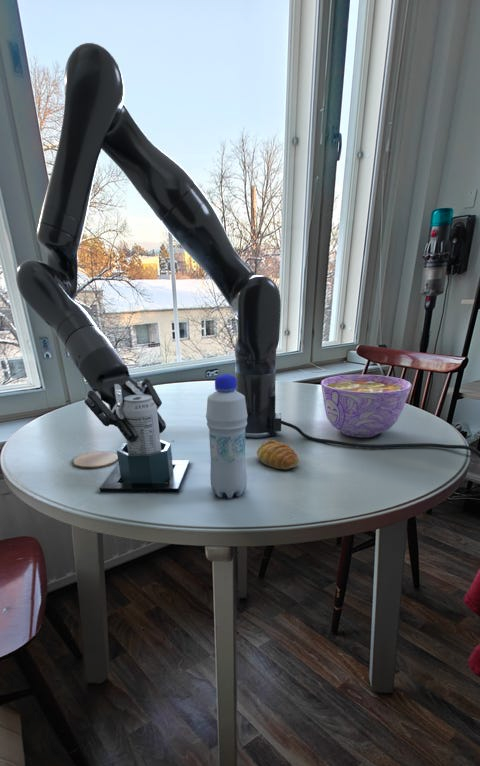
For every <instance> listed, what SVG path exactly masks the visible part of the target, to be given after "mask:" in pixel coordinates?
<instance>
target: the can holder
mask: <svg viewBox="0 0 480 766" xmlns="http://www.w3.org/2000/svg"><path fill="white" fill-rule="evenodd" d="M160 442H161V451H158V452H154V453H151V454H129V453H128V447H127V442H125V443H122V444H121V445H120V446H119V447H118V448H117V450H116V454H117V456H118V460H117V462H118V464H117V466H115V468H114V469H113V470H112V472H110V474H109V476H107V478H106V479H105V480H104V482H103V483H102V484H101V485H100V487H99V492H100V493H149V494H150V493H154V494H155V493H163V494H164V493H165V494H167V493H169V494H171V493H174V494H175V493H176V494H179V491H180V489H181V486H182V484H183V482H184V479H185V476H186V474H187V471H188V470H189V466H190V459H189V460H188V459H186V460H184V459H183V460H181V459H179V460H178V459H177V460H173V455H172V454H173V453H172V452H173V451H172V444H171V443H169V442H167V441H165V440H163V439H160Z"/></svg>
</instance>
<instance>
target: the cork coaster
mask: <svg viewBox="0 0 480 766" xmlns="http://www.w3.org/2000/svg"><path fill="white" fill-rule="evenodd" d="M116 462H118V456H117V453H115V452H111V451H91V452H87V453H83V454H80V455H78V456H76V457H75V458H74V459H73V465H74V466H75V467H77V468H81V469H98V468H104V467H108V466H111V465H113V464H115V463H116Z"/></svg>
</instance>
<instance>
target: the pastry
mask: <svg viewBox="0 0 480 766" xmlns="http://www.w3.org/2000/svg"><path fill="white" fill-rule="evenodd" d="M256 455H257V458H258V460H259V462H261V463H262V464H264V465H266V466H269V467H270V468H273V469H276V470H290V469H292V468H295V467H297V466H298V464H299V462H300V459H299V457H298V454H297V453H296V452H295V450H294V449H292V448H291V446H290V445H289V444H286V443H285V442H283V441H282V442H281V441H280V442H278V440H274V439H268V440H265V441H264V442H262V443H261V445H260V446H259V447H258V449H257V451H256Z"/></svg>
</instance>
